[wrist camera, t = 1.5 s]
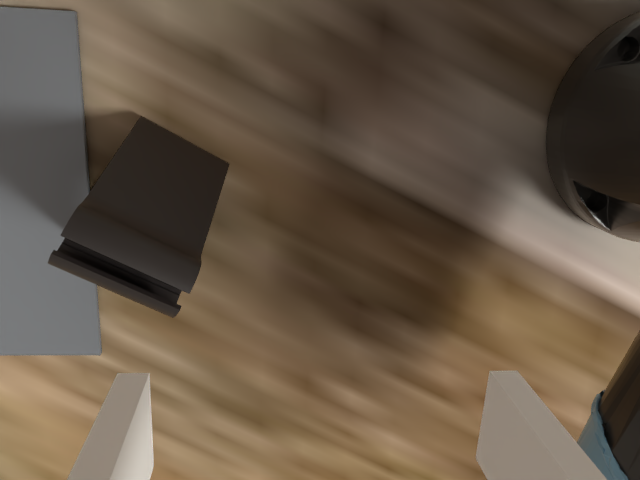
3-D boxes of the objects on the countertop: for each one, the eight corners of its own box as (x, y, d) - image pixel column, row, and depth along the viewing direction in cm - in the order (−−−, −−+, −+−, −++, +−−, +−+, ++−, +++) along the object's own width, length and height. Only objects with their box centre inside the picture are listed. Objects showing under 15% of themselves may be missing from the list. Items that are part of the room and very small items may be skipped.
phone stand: (142, 114, 34) (101, 152, 22) (230, 163, 35) (233, 220, 24) (78, 237, 35) (12, 328, 24) (165, 277, 37) (140, 379, 26)
